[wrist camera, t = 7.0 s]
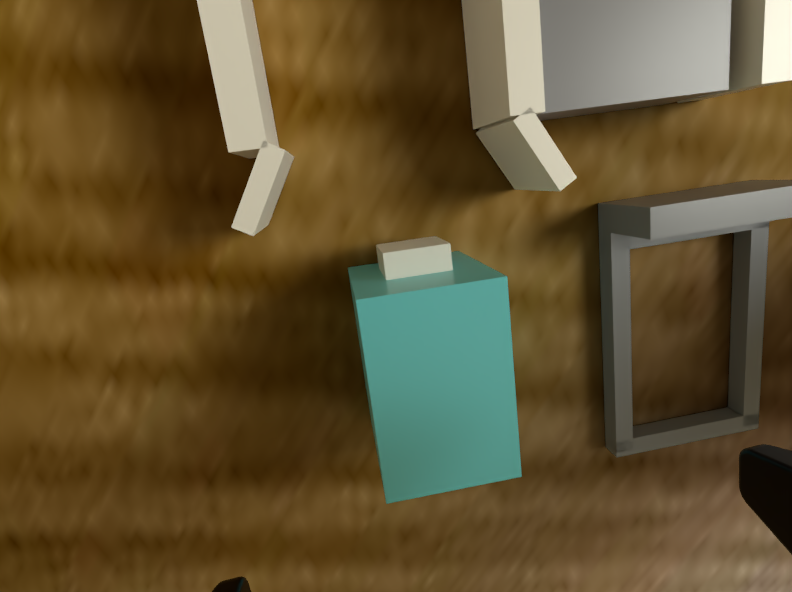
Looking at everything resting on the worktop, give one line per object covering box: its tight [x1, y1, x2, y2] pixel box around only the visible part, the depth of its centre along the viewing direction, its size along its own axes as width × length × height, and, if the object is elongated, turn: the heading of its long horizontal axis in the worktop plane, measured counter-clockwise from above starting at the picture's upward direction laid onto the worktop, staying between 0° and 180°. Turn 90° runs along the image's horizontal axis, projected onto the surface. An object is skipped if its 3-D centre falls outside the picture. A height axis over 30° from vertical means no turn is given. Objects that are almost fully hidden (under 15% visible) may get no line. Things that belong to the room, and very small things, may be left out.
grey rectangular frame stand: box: [598, 180, 792, 457], centre depth 18 cm, size 10×6×3 cm, turn 8°
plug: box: [348, 236, 522, 504], centre depth 16 cm, size 7×4×5 cm, turn 7°
